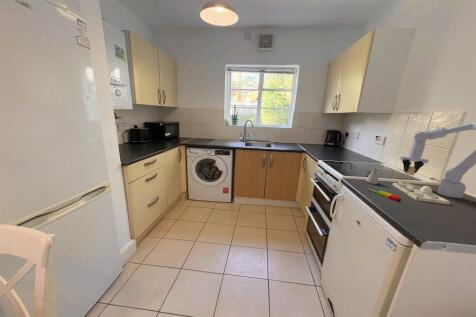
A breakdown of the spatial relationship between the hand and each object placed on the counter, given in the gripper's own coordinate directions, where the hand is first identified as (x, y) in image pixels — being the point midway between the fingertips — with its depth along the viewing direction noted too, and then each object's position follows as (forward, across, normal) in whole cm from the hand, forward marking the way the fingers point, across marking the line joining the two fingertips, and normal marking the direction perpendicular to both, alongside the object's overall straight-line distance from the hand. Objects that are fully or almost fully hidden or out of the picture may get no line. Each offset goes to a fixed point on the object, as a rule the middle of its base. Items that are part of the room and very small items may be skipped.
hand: (409, 172), depth 118 cm
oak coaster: (+9, 0, 0) cm, 9 cm away
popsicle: (+10, +26, +25) cm, 37 cm away
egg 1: (+1, 0, 0) cm, 1 cm away
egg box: (+9, +4, +17) cm, 20 cm away
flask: (+9, +22, +5) cm, 24 cm away
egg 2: (+8, +1, +17) cm, 19 cm away
